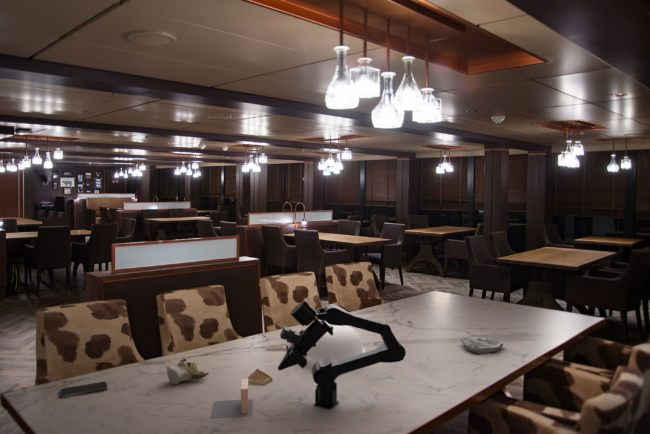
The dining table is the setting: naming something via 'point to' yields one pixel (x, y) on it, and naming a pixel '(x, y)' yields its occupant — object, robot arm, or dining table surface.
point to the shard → (259, 378)
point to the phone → (83, 389)
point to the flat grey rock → (482, 344)
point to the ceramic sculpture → (184, 372)
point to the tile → (244, 396)
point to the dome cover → (336, 346)
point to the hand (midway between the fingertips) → (278, 369)
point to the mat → (230, 409)
